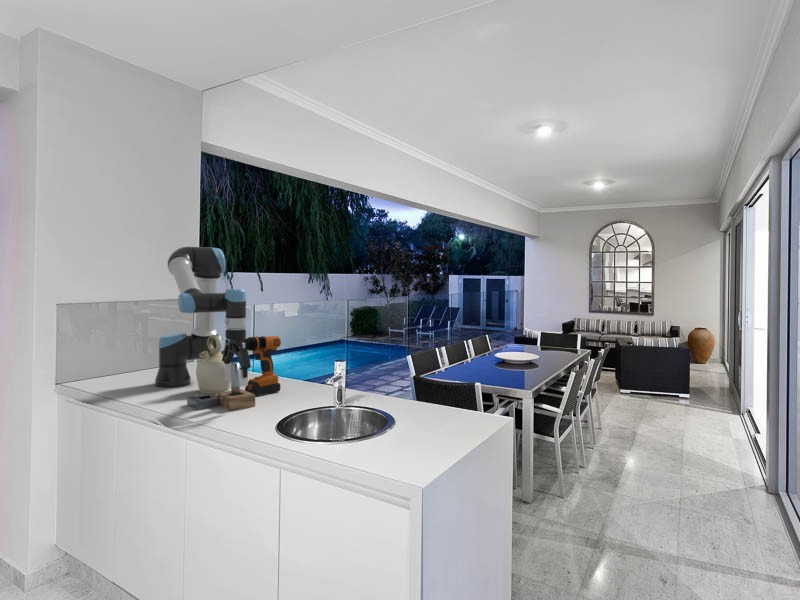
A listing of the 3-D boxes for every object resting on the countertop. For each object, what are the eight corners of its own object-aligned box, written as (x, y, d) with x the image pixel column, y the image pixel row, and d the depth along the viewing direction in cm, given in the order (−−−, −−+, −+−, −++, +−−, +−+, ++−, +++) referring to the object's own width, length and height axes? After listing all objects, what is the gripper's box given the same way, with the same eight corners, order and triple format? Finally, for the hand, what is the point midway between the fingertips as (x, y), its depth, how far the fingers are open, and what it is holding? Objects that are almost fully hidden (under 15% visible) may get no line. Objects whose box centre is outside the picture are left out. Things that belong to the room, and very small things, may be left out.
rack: (217, 405, 191) (217, 392, 191) (241, 401, 198) (241, 389, 198) (230, 412, 183) (230, 398, 182) (255, 407, 190) (255, 394, 189)
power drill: (240, 399, 200) (239, 339, 199) (230, 396, 205) (230, 337, 204) (284, 391, 216) (284, 335, 215) (274, 388, 221) (274, 333, 220)
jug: (203, 397, 204) (203, 337, 203) (191, 390, 216) (190, 334, 215) (238, 391, 214) (238, 335, 213) (225, 385, 226) (224, 331, 225)
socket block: (187, 405, 190) (187, 397, 190) (212, 401, 197) (212, 393, 197) (196, 411, 183) (196, 402, 183) (222, 406, 190) (222, 397, 190)
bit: (230, 403, 190) (229, 363, 189) (238, 402, 193) (236, 362, 191) (233, 405, 188) (232, 364, 187) (241, 403, 190) (240, 363, 189)
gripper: (213, 326, 195) (213, 378, 197) (241, 332, 177) (241, 390, 178) (231, 325, 201) (231, 376, 202) (260, 331, 182) (260, 387, 184)
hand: (236, 383), depth 190 cm, fingers open, 13 cm apart
